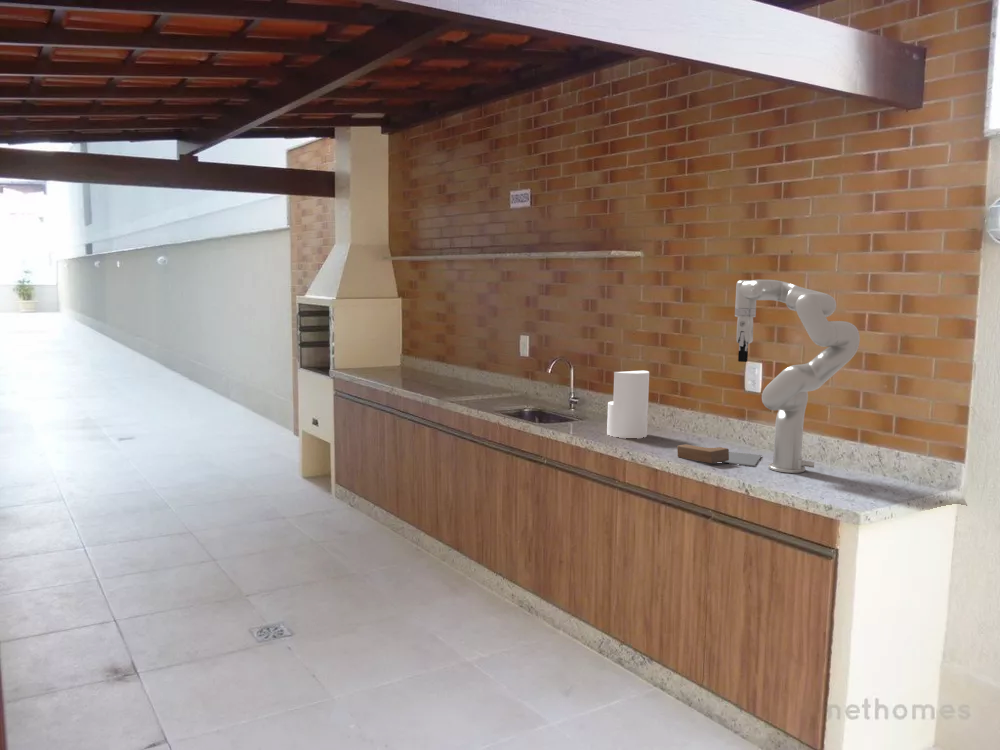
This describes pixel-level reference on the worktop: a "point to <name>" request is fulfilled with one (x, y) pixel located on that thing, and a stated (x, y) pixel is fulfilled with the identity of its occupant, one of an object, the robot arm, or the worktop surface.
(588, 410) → the worktop surface
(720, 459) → the wooden block
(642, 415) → the stepped white pillar
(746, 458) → the mat
